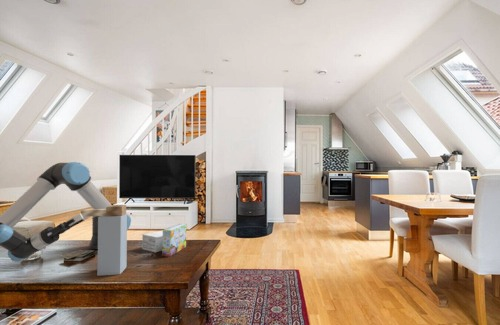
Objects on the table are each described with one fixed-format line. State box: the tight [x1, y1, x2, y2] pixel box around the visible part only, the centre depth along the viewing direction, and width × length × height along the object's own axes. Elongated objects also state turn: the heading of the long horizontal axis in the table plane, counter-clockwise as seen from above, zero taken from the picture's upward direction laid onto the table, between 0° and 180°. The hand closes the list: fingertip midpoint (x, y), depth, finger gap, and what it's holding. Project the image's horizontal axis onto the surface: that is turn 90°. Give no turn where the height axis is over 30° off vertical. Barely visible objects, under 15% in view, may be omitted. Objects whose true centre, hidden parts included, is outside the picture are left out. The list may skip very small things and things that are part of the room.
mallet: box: [80, 204, 127, 217], centre depth 132 cm, size 19×7×4 cm, turn 99°
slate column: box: [96, 212, 128, 277], centre depth 132 cm, size 10×10×27 cm
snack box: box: [161, 223, 187, 258], centre depth 164 cm, size 21×6×15 cm, turn 168°
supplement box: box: [141, 230, 163, 253], centre depth 172 cm, size 17×13×9 cm
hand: (88, 213), depth 130 cm, fingers open, 13 cm apart
